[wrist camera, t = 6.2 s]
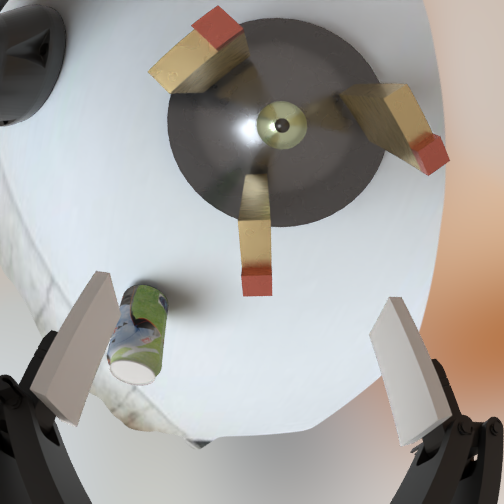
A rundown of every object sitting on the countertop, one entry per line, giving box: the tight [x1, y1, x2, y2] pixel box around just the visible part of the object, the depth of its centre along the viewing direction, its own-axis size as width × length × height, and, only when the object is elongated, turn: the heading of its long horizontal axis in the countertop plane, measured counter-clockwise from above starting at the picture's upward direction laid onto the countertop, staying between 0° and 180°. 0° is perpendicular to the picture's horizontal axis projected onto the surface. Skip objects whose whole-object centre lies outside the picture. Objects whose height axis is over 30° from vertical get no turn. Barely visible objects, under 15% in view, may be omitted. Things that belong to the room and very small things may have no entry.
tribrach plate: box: [167, 18, 385, 227], centre depth 21 cm, size 19×19×3 cm
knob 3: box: [339, 84, 450, 176], centre depth 15 cm, size 5×2×10 cm, turn 39°
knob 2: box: [238, 174, 272, 296], centre depth 20 cm, size 5×2×10 cm, turn 3°
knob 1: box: [148, 6, 250, 94], centre depth 14 cm, size 5×2×10 cm, turn 129°
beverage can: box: [107, 285, 168, 385], centre depth 29 cm, size 6×7×12 cm
